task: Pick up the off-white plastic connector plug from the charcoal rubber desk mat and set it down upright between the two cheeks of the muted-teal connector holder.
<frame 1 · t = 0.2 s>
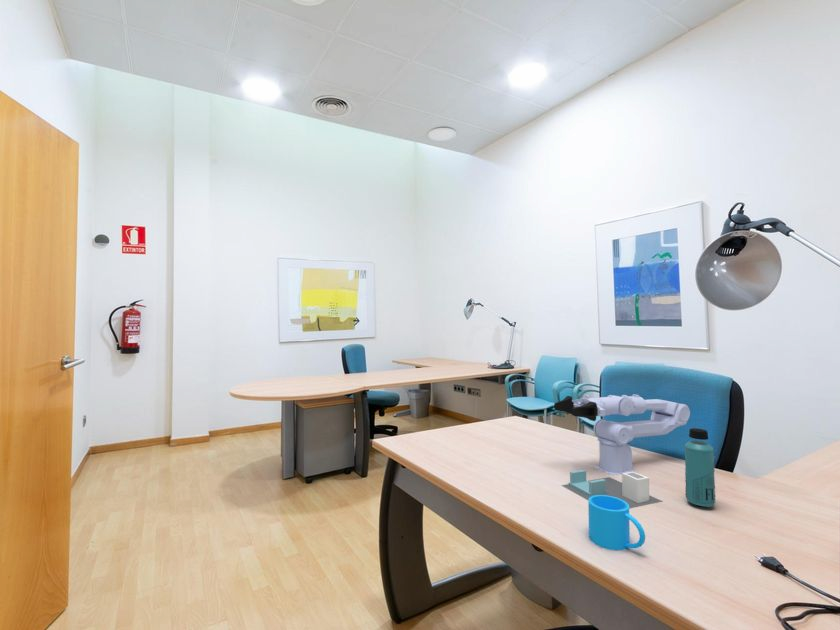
hand: (563, 409, 124), 21 cm above the table, tool horizontal, fingers open, 7 cm apart
connector plug: (635, 498, 109), resting on desk mat
mug: (617, 545, 87), on the table
connector holder: (587, 489, 115), resting on desk mat
beverage bottle: (700, 507, 104), on the table
desk mat: (609, 494, 112), on the table
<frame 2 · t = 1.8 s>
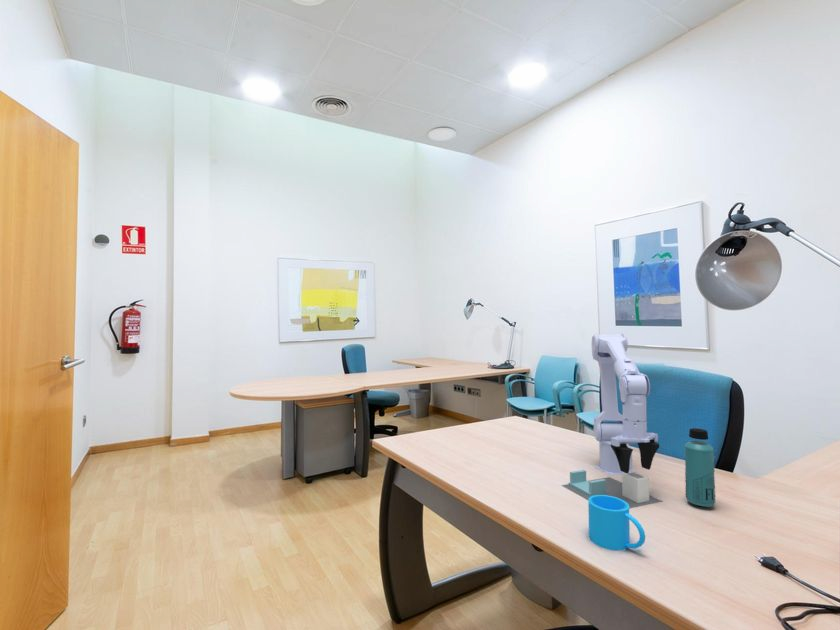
hand: (635, 470, 109), 8 cm above the table, tool pointing down, fingers open, 7 cm apart
nothing on the table moved.
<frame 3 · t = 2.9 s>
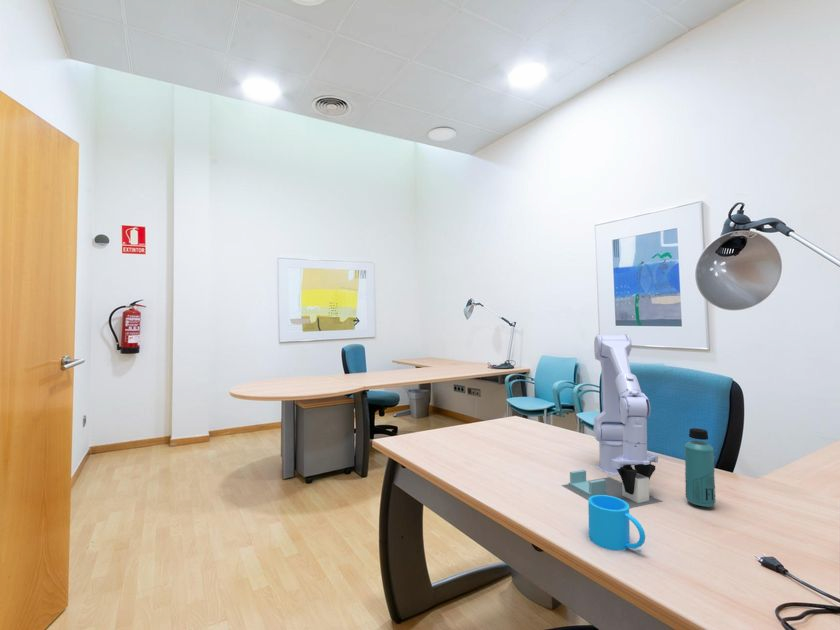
hand: (635, 491, 109), 2 cm above the table, tool pointing down, fingers closed on connector plug, 4 cm apart
connector plug: (635, 498, 109), resting on desk mat, touching gripper
everything else where it was.
when the fingers open (5 cm above the table, at t = 6.3 s): connector plug drops 2 cm, resting on connector holder.
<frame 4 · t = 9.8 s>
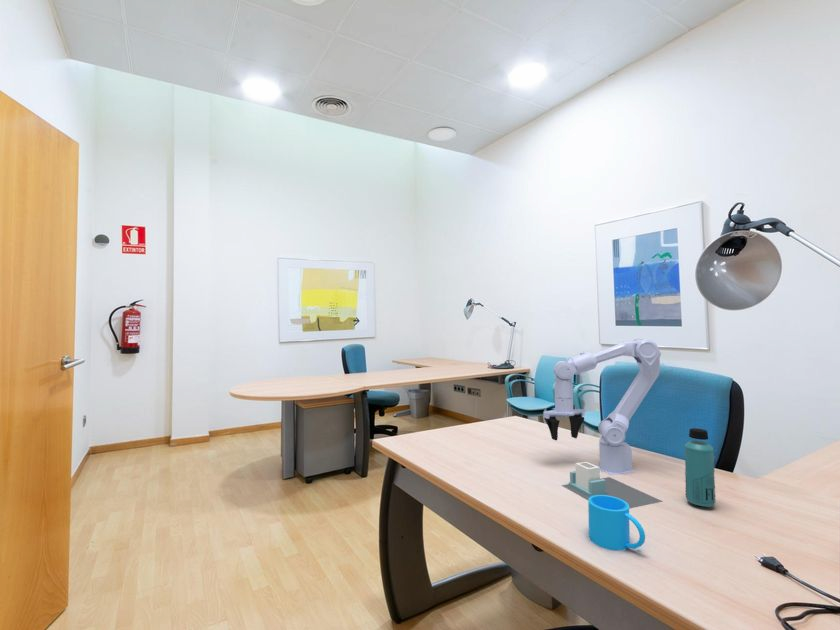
hand: (564, 438, 134), 9 cm above the table, tool pointing down, fingers open, 7 cm apart
connector plug: (587, 486, 114), point 1 cm above the table, touching connector holder
everything else where it was.
at the end: connector plug 0.0 cm off-centre on the connector holder, point 0.8 cm above the connector holder's base; connector plug tilted 0°; the gripper is holding nothing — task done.
